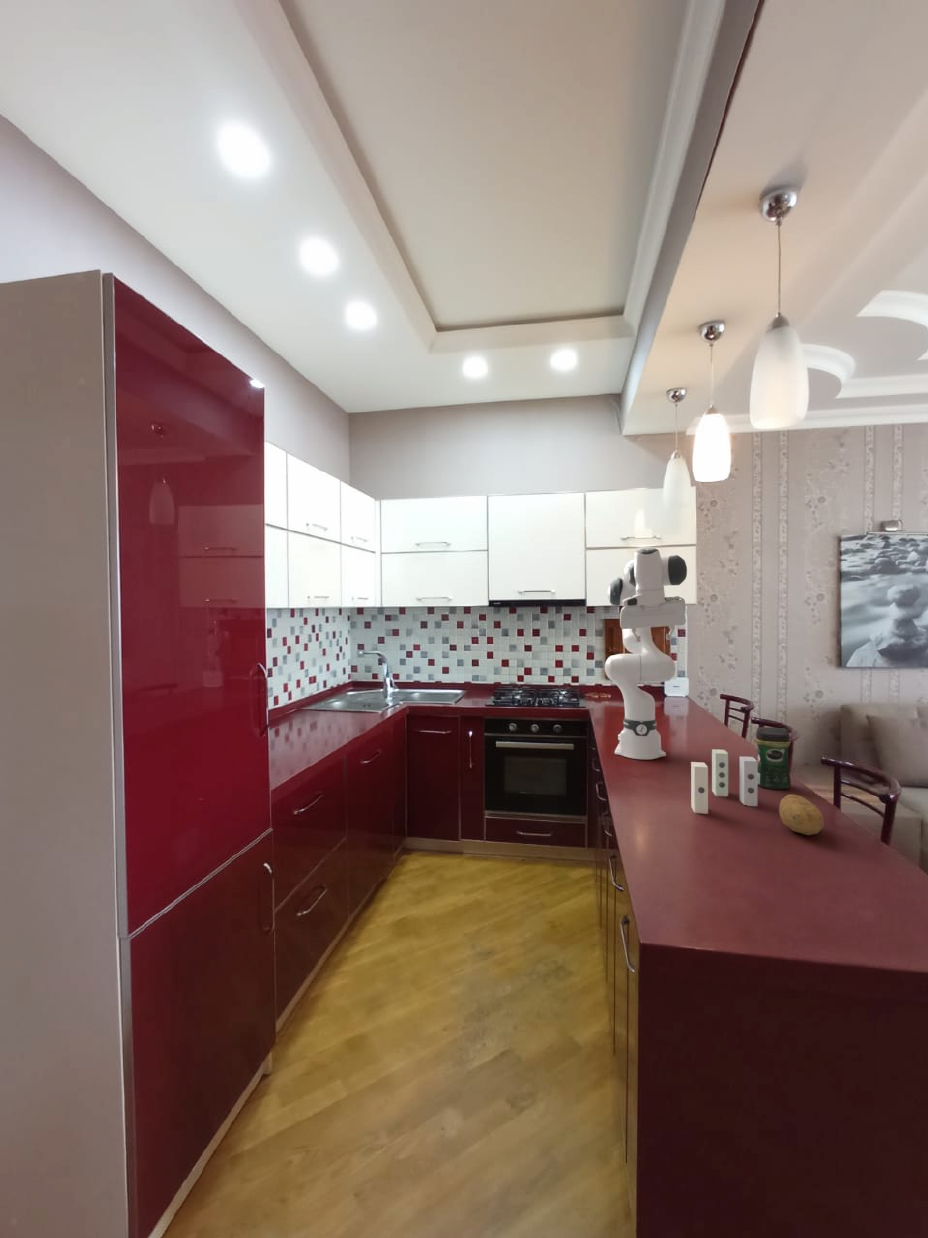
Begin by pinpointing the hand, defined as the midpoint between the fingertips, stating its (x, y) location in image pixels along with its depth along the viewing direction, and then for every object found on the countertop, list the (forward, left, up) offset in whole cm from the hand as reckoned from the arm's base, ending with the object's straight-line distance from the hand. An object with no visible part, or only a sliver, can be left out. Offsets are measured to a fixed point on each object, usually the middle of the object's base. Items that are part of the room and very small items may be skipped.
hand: (653, 640), depth 177 cm
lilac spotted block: (+16, +24, -46) cm, 54 cm away
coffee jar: (-1, +36, -46) cm, 59 cm away
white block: (+9, +18, -46) cm, 50 cm away
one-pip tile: (+24, +9, -46) cm, 53 cm away
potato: (+35, +31, -46) cm, 66 cm away
